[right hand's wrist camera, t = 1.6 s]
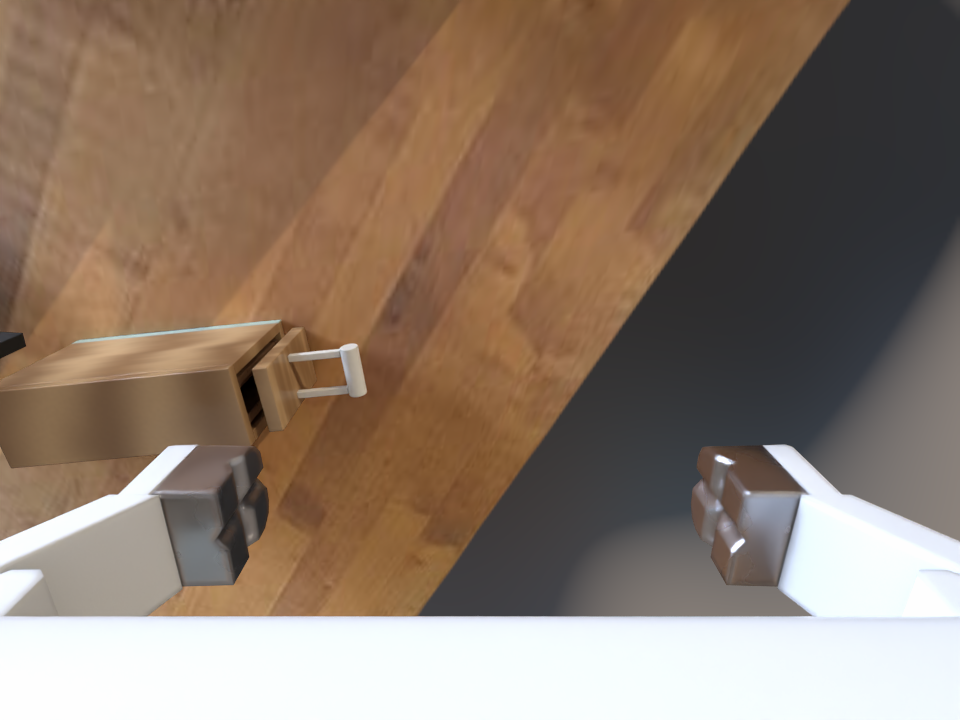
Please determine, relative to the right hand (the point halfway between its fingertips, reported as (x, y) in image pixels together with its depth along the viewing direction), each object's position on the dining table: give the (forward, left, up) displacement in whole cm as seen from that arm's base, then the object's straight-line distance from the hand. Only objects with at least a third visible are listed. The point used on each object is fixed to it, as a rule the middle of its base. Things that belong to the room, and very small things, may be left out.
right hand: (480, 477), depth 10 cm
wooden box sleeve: (-3, -31, -41) cm, 52 cm away
